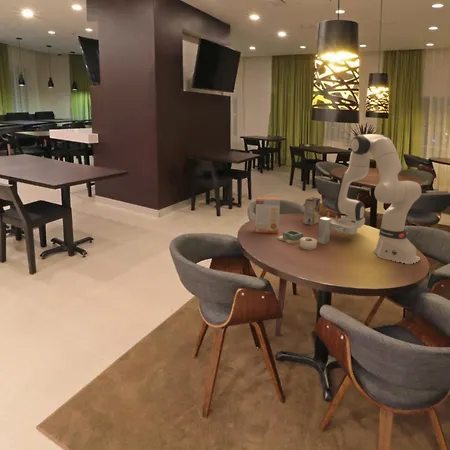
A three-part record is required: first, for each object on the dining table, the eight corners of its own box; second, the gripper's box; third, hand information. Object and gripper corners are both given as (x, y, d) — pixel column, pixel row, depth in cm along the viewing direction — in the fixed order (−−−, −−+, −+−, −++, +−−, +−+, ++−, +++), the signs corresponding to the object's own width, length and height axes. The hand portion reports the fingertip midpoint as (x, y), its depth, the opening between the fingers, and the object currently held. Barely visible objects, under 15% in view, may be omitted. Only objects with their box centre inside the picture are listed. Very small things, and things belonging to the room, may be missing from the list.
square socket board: (307, 240, 241) (308, 233, 240) (293, 244, 233) (293, 237, 232) (291, 235, 250) (292, 228, 248) (277, 238, 242) (278, 231, 241)
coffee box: (309, 220, 282) (311, 196, 278) (318, 222, 279) (320, 198, 274) (303, 223, 275) (305, 199, 271) (312, 225, 272) (314, 200, 267)
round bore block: (319, 247, 230) (320, 240, 229) (309, 250, 225) (309, 243, 224) (306, 243, 237) (307, 236, 236) (296, 246, 231) (296, 238, 230)
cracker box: (277, 231, 257) (280, 197, 251) (278, 234, 251) (280, 199, 245) (254, 229, 258) (256, 196, 252) (254, 232, 252) (256, 198, 246)
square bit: (328, 242, 239) (331, 218, 235) (323, 244, 236) (326, 220, 232) (322, 240, 242) (324, 217, 238) (317, 242, 239) (319, 218, 235)
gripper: (330, 215, 255) (315, 218, 247) (360, 223, 240) (345, 227, 232) (329, 225, 257) (314, 229, 248) (358, 234, 242) (344, 238, 233)
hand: (329, 228), depth 240 cm, fingers open, 8 cm apart
